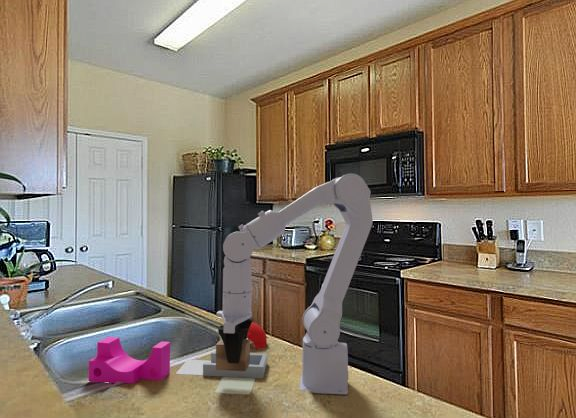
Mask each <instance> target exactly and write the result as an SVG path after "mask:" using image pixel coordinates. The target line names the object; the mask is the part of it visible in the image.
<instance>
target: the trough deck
mask: <svg viewBox="0 0 576 418" xmlns="http://www.w3.org/2000/svg"><path fill="white" fill-rule="evenodd" d="M267 364H268V354H267V353H252V352H250V364H249V366H248V368H247V370H246V371H229V370H216V351H211V353H210V360H204V359H186V361H185V362H184V363H183V364H182V365H181V367H180V368H179V369H178V370H177V371H176V373H175V375H183V376H184V375H187V376H206V377H208V376H210V377H211V376H212V377H232V378H255V379H263V378H264V375H265V372H266V370H267V369H266V368H267V366H268V365H267Z"/></svg>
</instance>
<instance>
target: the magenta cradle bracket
mask: <svg viewBox="0 0 576 418" xmlns="http://www.w3.org/2000/svg"><path fill="white" fill-rule="evenodd" d="M120 340H121V339H120V337H116V336H115V337H114V336H107V337H105V338H103V339H101V340H99V341H97V344H96V345H97V346H96V348H97V349H96V350H97V351H96V356H95V357H93V358H91V359H90V360H88V382H89V383H90V382H92V383H98V382H109V383H114V384H113V385H115V384H116V383H117V382H118V383H124V384H125V383H127V384H135V383H136V382H138V380H142V379H144V380H153V381H162V380H163V379H164V378H166V377H167V376H168V375H169V374H170V372H171V341H160V342H159V343H157V344H156V345H154V346H152V349H151V352H150V355H149V357H148V358H147V359H145V360H144V359H143V360H140V359H139V360H138V359H135V358H133V357H131V356H130V355H129V354H127V352H125V349H124V348H123V347H122V344H121V341H120Z"/></svg>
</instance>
